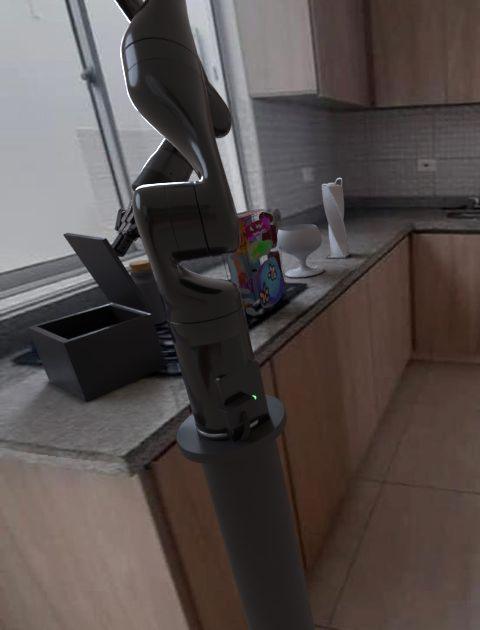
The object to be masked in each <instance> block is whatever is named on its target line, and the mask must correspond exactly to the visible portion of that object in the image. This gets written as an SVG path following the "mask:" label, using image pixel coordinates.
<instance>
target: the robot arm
mask: <svg viewBox="0 0 480 630" xmlns="http://www.w3.org/2000/svg"><path fill="white" fill-rule="evenodd" d="M114 2H115V3H116V5H117V6H118V8H119V9H120V10H121V12H122V14H123V15H124V16H125V18H126V20H127V21H128V22H129V24H128V26H127V28H126V29H125V32H124V34H123V36H122V39H121V44H120V60H121V66H122V71H123V76H124V82H125V86H126V93H127V96H128V98H129V100H130V102H131V104H132V106H133V107H134V109H135V110H136V111H137V112H138V113H139V114H140V116H141V117H142V118H143V119H144V120H145V121H146V122H147V123H148V124H149V125H150V126H151V127H152V129H154V130H155V131H156V132H157V133H158V134H159V135H161V136H162V137H163V140H162V141H161V143H160V145H159V146H158V147H157V149H156V150H155V152H154V153H153V154H152V155H151V156H150V157H149V158H148V159H147V161H146V162H145V164H144V165H143V167H142V168H141V170H140V171H139V173H138V174H137V176H136V178H135V179H134V181H133V182H132V184H131V190H132V191H133V194H132V198H131V199H132V200H131V201H130V202H129V203H128V205H127V207H126V209H125V208H123V207H120V208H119V209H118V211H117V214H116V218H115V219H116V220H115V225H114V230H115V231H117V236H116V237H115V239H114V240H113V242H112V244H111V246H112V248H113V249H114V251H115V252H116V254H117V255H118V257H119V258H124V257H125V255H127V252H128V251H129V250H130V247H131V246H132V245H133V243H134V242H137V240H139V239H140V240H141V242H142V245H143V248H144V251H145V254H146V257H147V260H149V262H150V265H151V268H152V271H153V274H154V277H155V281H156V284H157V287H158V291H159V294H160V298H161V301H162V305H163V309H164V312H165V316H166V320H167V321H166V324H167V327H168V330H169V333H170V337H171V341H172V345H173V349H174V352H175V356H176V359H177V363H178V366H179V370H180V374H181V378H182V381H183V385H184V387H185V391H186V394H187V399H188V402H189V405H188V407H187V408H188V412H189V415H192V414H193V416H194V419H195V426H196V429H197V433H198V435H199V436H200V437H202V438H203V439H206V440H211V441H222V440H231V441H233V442H235V441H237V440H238V439H240V438H241V440H242V441H246V440H247V438H248V436H249V434H250V432H251V431H252V430H254V429H255V428H257V427H258V426H260V425H261V424H263V423H265V422H266V421H268V420H269V419H270V415H269V410H268V405H267V400H266V395H267V394H266V389H265V385H264V381H263V376H262V372H261V366H260V363H259V360H257V359H255V355H254V350H253V345H252V341H251V336H250V335H251V334H250V330H249V325H248V319H247V316H246V310H245V308H244V306H243V301H242V296H241V292H240V289H239V287H238V286H237V285H236V284H235V283H233V282H231V280H228V279H222V278H217V277H211V276H206V275H202V274H199V273H196V272H194V271H192V270H189V269H188V268H186V267H185V266H184V265H183V264H182V262H188V261H189V262H190V261H197V260H203V259H210V258H219V257H222V256H224V257H226V255H229V254H233V253H235V252H236V251H237V250H238V248H239V246H240V240H241V235H240V226H239V220H238V216H237V215H238V212H237V208H236V205H235V204H236V203H235V201H234V198H233V195H232V190H231V187H230V184H229V181H228V178H227V173H226V170H225V167H224V164H223V161H222V157H221V154H220V150H219V146H218V143H217V139H223V138H225V137H227V135H229V134H230V131H231V130H232V126H233V117H232V114H231V111H230V108H229V106H228V104H227V102H226V101H225V100H224V98H223V97H222V96H221V95H220V94H219V91H217V89H216V88H215V87H214V86H213V84H212V83H211V82H210V81H209V77H208V76H207V73H206V70H205V67H204V66H203V62H202V60H201V58H200V56H199V54H198V49H197V46H196V43H195V38H194V35H193V30H192V26H191V23H190V17H189V13H188V6H187V0H114ZM193 172H194V173H195V174H196V176H197V178H198V180H195V181H193V180H192V181H190V178H191V176H192V174H193ZM246 319H247V320H246Z"/></svg>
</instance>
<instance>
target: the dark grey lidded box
mask: <svg viewBox="0 0 480 630" xmlns="http://www.w3.org/2000/svg"><path fill="white" fill-rule="evenodd" d="M27 330H28V333H29V335H30V337H31V340H32V342H33V345H34V348H35V350H36V352H37V355H38V357H39V360H40V362H41V365H42V367H43V369H44V373H45V375H46V377H47V379H48V382H50V383H52V384H53V385H55V386H57V387H59V388H61V389H63V390H64V391H66V392H68V393H69V394H71V395H73V396H76V397H77V398H78V399H80V400H82V401H84V402H90V401H92V400H93V399H96V398H99V397H100V396H103V395H105V394H107V393H110V392H112V391H115V390H117V389H119V388H122V387H124V386H126V385H128V384H131V383H133V382H135V381H137V380H140V379H142V378H144V377H147V376H149V375H151V374H154V373H156V372H158V371H160V370H163V369H166V368H167V363H166V359H165V356H164V352H163V348H162V346H161V342H160V339H159V334H158V331H157V329H156V324H155V325H154V321H153V318H152V314H149V313H146V312H142V311H140V310H137V309H134V308H130V307H127V306H123V305H120V304H116V303H113V302H109V303H106V304H102V305H100V306H96V307H93V308H88V309H86V310H82V311H78V312H75V313H72V314H69V315H65V316H62V317H58V318H55V319H51V320H48V321H44V322H41V323H37V324H34V325H31V326H27Z"/></svg>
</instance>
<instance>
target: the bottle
mask: <svg viewBox="0 0 480 630" xmlns="http://www.w3.org/2000/svg"><path fill="white" fill-rule="evenodd" d="M128 266H129V267H130V269H131V270H130V271H129V274H130V276H131V277H134V279H133V280H134V282H135V284H136V285H137V287H138V288H139V290H140V291H141V293H142V294H143V296H144V298H145V299H146V301H147V302H148V304H149V305H150V307H151V309H152V310H153V311H151V312H150V313H149V314H152V318H153V321H154V325H155V326H156V325H159V324H164V323H167V320H166V316H165V312H164V309H163V305H162V301H161V298H160V294H159V291H158V287H157V284H156V281H155V277H154V274H153V271H152V268H151V265H150V262H149V259H141V260H135V261H132V262H130V263H128ZM139 311H141V310H139ZM142 312H144V311H142ZM146 313H148V312H146Z"/></svg>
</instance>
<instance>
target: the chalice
mask: <svg viewBox="0 0 480 630" xmlns="http://www.w3.org/2000/svg"><path fill="white" fill-rule="evenodd" d="M277 230H278V231H277V237H278V239H277V240H278V242H279V240H280V242H279V244H278V243H277V247H278V248H279V247H280V246H281V248H280V249H279V251H280V252H282V253H285V254H288V255H290V256H292V257H294V258H296V259H297V260H298V261H299V267H295V268H292V269H289V270H287V271H286V272H285V273H284V275H285V277H290V278H306V277H307V278H308V277H312V276H316V275H318V274H320V273H323V271H324V269H323V268H322V267H320V266H311V265H310V266H309V265H308V264H307V259H308V258H309V256H310V255H311V254H313V253H314V252H316V251H317V250H318V249H320V247H321V245H322V243H323V237H322V234H321V231H320V228H319V227H318V226H317V225H316V224H312V223H300V224H299V223H298V224H290V225H285V226H281V227H279V228H278V229H277ZM278 234H279V236H278Z"/></svg>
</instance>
